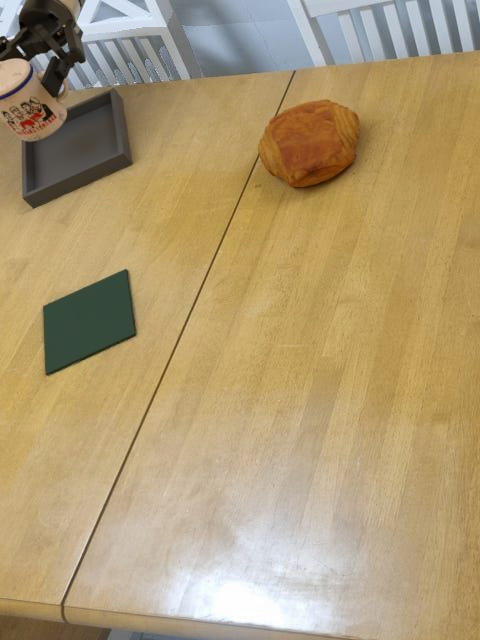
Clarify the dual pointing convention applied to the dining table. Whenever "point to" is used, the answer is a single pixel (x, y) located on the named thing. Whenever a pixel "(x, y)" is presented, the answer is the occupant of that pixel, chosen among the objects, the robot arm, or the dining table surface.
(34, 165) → the tray
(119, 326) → the mat
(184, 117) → the dining table surface
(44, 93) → the teacup with lid
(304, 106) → the croissant
